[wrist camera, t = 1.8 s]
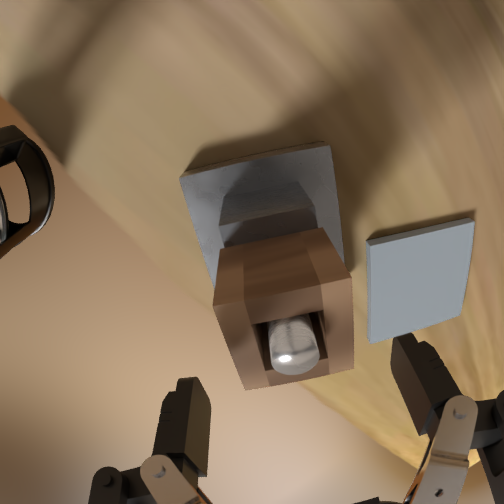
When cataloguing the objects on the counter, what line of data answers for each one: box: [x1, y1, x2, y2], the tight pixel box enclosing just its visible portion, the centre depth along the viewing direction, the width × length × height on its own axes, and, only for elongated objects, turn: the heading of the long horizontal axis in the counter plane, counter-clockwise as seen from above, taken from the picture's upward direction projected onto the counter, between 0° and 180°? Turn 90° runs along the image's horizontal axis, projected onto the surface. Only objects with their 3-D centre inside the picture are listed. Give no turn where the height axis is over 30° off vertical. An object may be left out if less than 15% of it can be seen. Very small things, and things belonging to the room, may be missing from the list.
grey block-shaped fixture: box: [179, 141, 345, 375], centre depth 18 cm, size 12×10×13 cm
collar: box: [213, 227, 354, 390], centre depth 15 cm, size 6×6×5 cm
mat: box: [366, 218, 475, 344], centre depth 26 cm, size 11×11×1 cm
